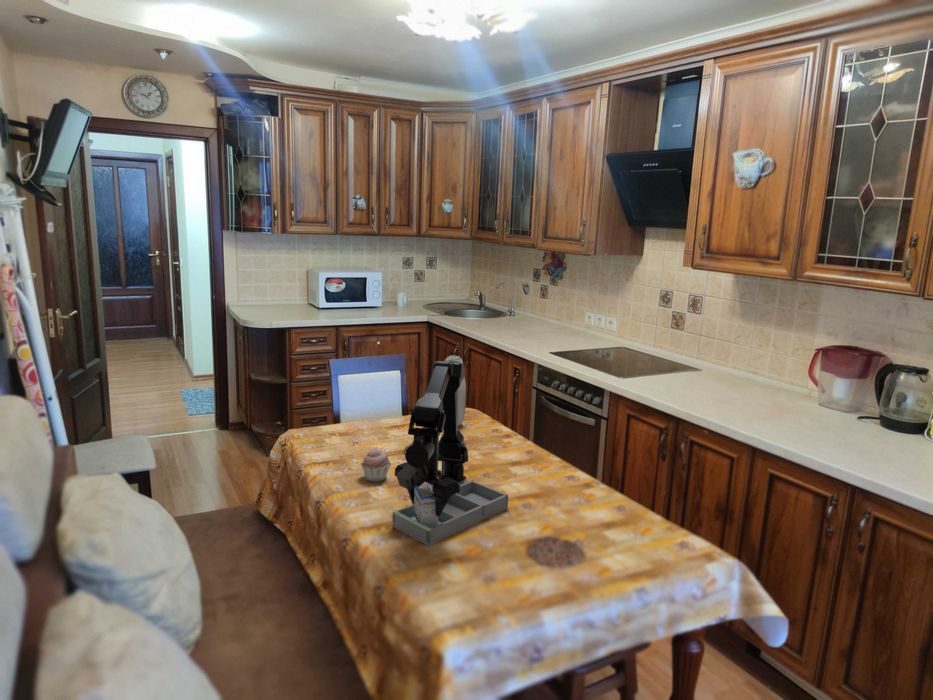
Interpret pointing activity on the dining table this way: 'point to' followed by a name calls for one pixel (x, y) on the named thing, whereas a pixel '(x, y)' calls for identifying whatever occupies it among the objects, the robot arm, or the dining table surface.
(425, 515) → the medicine box
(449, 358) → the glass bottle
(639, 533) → the dining table surface
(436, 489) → the robot arm
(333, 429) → the dining table surface
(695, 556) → the dining table surface
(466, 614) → the dining table surface
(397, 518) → the grey compartment tray
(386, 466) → the cupcake
